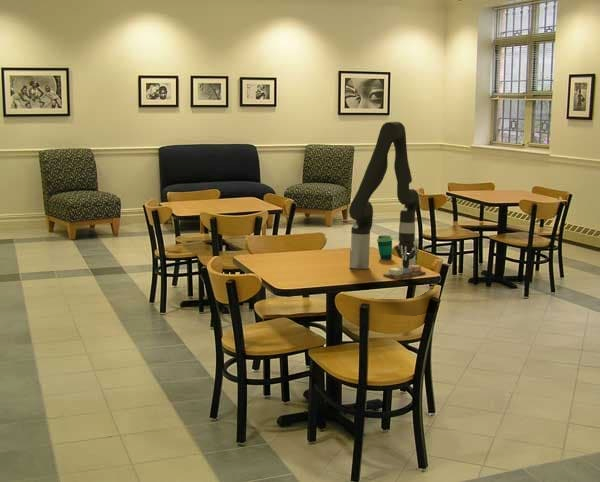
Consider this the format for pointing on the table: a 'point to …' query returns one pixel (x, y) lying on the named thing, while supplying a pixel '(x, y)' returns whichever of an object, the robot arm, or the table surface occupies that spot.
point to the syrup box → (414, 260)
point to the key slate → (406, 270)
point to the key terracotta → (415, 268)
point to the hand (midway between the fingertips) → (405, 267)
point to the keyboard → (405, 275)
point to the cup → (385, 247)
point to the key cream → (395, 271)
